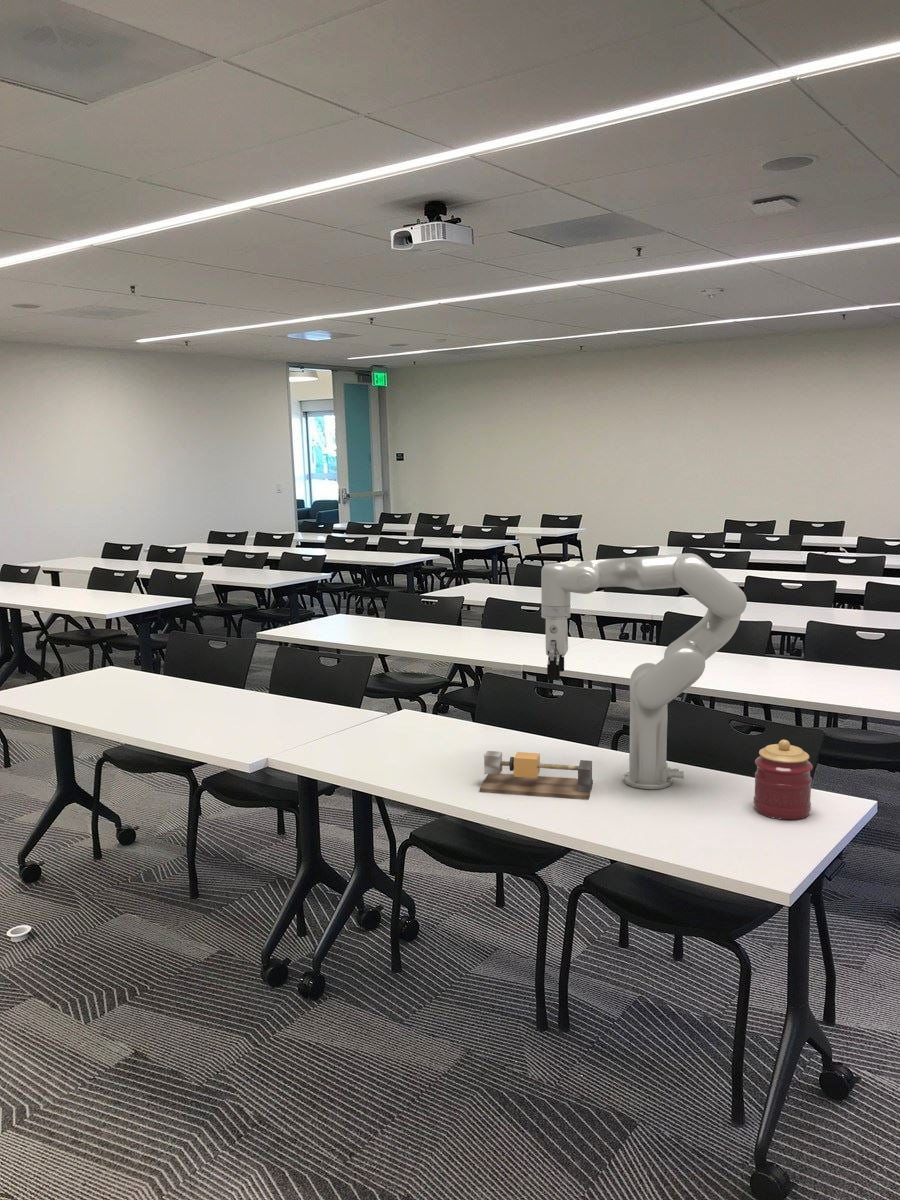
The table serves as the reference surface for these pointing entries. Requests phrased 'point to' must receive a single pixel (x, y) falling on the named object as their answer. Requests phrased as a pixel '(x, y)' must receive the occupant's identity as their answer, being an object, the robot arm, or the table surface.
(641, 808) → the table surface
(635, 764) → the robot arm
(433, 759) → the table surface
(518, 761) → the sleeve
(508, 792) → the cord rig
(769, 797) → the canister
